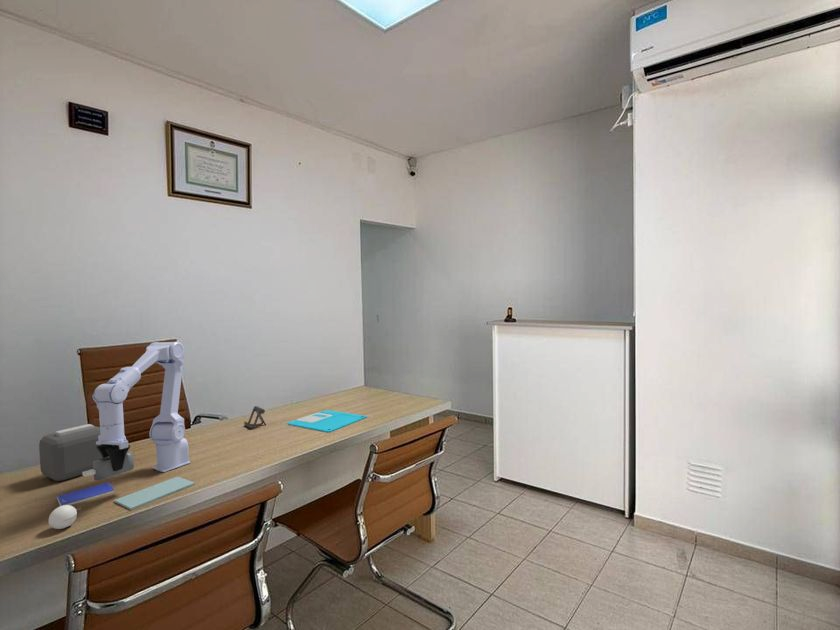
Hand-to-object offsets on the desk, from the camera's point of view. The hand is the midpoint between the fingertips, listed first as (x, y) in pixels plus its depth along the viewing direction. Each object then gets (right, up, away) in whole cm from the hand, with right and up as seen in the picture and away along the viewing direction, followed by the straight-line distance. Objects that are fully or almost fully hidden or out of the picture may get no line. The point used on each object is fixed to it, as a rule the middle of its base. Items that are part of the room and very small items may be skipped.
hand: (114, 468), depth 123 cm
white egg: (0, -9, -16) cm, 18 cm away
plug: (-1, -2, -1) cm, 2 cm away
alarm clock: (-27, -9, +19) cm, 34 cm away
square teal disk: (+47, -5, +73) cm, 87 cm away
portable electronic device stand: (+15, -6, +69) cm, 70 cm away
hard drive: (-10, -9, +1) cm, 14 cm away
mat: (+12, -8, +2) cm, 14 cm away
